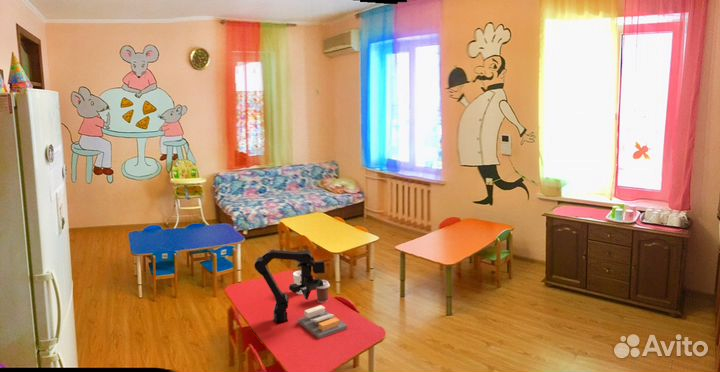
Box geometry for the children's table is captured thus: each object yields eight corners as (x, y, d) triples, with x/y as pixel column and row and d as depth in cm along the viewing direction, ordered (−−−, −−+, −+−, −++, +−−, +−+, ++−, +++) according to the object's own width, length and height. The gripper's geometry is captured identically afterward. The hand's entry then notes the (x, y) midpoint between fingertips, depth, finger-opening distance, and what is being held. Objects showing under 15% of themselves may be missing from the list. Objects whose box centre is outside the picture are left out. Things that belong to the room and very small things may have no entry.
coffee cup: (325, 295, 309) (324, 277, 306) (333, 301, 301) (332, 282, 299) (312, 299, 303) (312, 281, 301) (320, 305, 296) (320, 286, 294)
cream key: (308, 318, 272) (308, 313, 271) (304, 315, 275) (304, 310, 274) (325, 312, 278) (324, 307, 278) (321, 309, 281) (321, 305, 281)
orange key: (322, 331, 260) (322, 326, 260) (318, 328, 264) (318, 323, 263) (339, 325, 267) (339, 320, 266) (335, 322, 270) (335, 317, 269)
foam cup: (296, 296, 307) (295, 277, 305) (291, 291, 316) (290, 272, 313) (310, 293, 312) (310, 274, 309) (305, 288, 320) (304, 269, 317)
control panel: (319, 339, 257) (318, 331, 256) (298, 322, 275) (298, 315, 274) (347, 328, 268) (347, 321, 267) (325, 313, 285) (325, 307, 284)
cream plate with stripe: (317, 322, 264) (316, 320, 264) (310, 320, 270) (310, 318, 270) (334, 316, 270) (333, 314, 271) (327, 315, 276) (327, 313, 276)
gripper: (298, 281, 260) (298, 309, 264) (328, 274, 271) (328, 300, 274) (288, 274, 269) (288, 301, 273) (318, 268, 280) (318, 293, 283)
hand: (306, 299), depth 275 cm, fingers closed
